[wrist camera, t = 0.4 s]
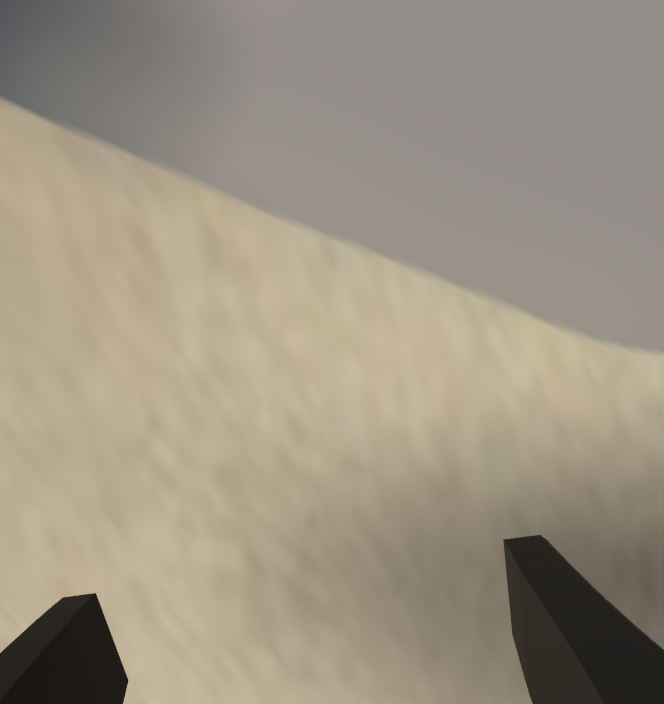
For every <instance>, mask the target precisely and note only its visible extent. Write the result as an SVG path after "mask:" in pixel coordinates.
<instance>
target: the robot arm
mask: <svg viewBox="0 0 664 704" xmlns="http://www.w3.org/2000/svg"><path fill="white" fill-rule="evenodd" d="M504 550H505V561H506V571H507V581H508V592H509V602H510V612H511V623H512V633H513V638H514V641H515V645H516V648H517V652H518V656H519V659H520V663H521V666H522V670H523V673H524V677H525V680H526V684H527V687H528V691H529V694H530V697H531V700H532V702H533V704H664V650H663V649H662V648H661V647H660V646H659V645H657V644H656V643H655V642H654V641H653V640H651V639H650V638H649V637H648V636H647V635H646V634H644V633H643V632H642V631H641V630H640V629H639V628H637V627H636V626H635V625H634V624H633V623H632V622H631V621H630V620H629V619H627V618H626V617H625V616H624V615H623V614H622V613H621V612H620V611H619V610H617V609H616V608H615V607H614V606H613V605H612V604H611V603H610V602H608V601H607V600H606V599H605V598H604V597H603V596H602V595H601V594H600V593H599V592H598V591H597V590H596V589H595V588H594V587H593V586H592V585H591V584H590V583H588V582H587V581H586V580H585V579H584V578H583V577H582V576H581V575H580V574H579V573H578V572H577V571H576V570H575V569H574V568H573V567H572V566H571V565H570V564H569V563H568V562H567V561H566V560H565V559H564V558H563V556H562V555H561V554H560V553H559V552H558V551H557V550H556V549H555V548H554V547H553V546H552V545H551V544H550V543H549V542H548V541H547V540H546V539H545V538H544V537H542V536H541V535H536V536H528V537H521V538H513V539H506V540H504ZM127 684H128V678H127V676H126V673H125V670H124V668H123V665H122V662H121V660H120V657H119V654H118V652H117V649H116V646H115V644H114V641H113V638H112V636H111V633H110V630H109V628H108V625H107V622H106V620H105V617H104V614H103V612H102V609H101V606H100V603H99V601H98V598H97V595H96V593H94V594H86V595H79V596H71V597H64V598H62V599H61V600H60V601H58V602H57V603H56V604H55V605H53V606H52V607H51V608H50V609H49V610H48V611H46V612H45V613H44V614H43V615H42V616H41V617H40V618H38V619H37V620H36V621H35V622H34V623H33V624H32V625H31V626H29V627H28V628H27V629H26V630H25V631H24V632H23V633H22V634H21V635H20V636H18V637H17V638H16V639H15V640H14V641H13V642H12V643H11V644H10V645H9V646H8V647H6V648H5V649H4V650H3V651H2V652H1V653H0V704H123V701H124V697H125V692H126V688H127Z"/></svg>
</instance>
